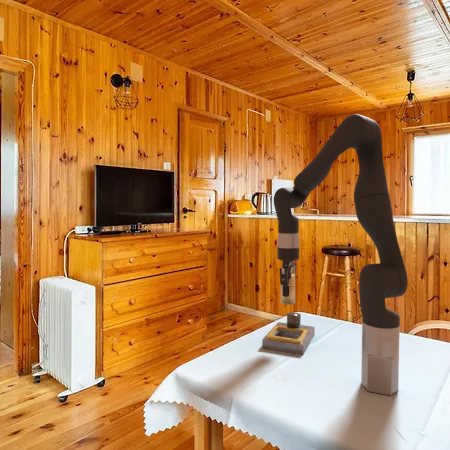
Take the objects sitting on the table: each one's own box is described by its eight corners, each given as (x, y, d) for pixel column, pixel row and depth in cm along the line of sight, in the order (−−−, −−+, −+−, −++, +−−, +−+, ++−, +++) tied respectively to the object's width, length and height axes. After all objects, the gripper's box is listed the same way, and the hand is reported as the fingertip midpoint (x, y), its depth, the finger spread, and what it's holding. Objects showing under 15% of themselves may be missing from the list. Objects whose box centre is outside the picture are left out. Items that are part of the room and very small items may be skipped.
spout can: (293, 305, 124) (293, 270, 123) (279, 303, 126) (279, 269, 126) (296, 301, 129) (296, 267, 128) (282, 300, 131) (282, 266, 130)
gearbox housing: (303, 354, 119) (303, 330, 119) (262, 348, 125) (262, 325, 124) (314, 334, 137) (314, 313, 137) (278, 329, 143) (278, 309, 143)
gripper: (294, 248, 118) (293, 300, 119) (303, 244, 131) (303, 291, 132) (271, 247, 121) (271, 298, 122) (283, 243, 134) (282, 289, 135)
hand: (288, 294), depth 127 cm, fingers closed on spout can, 5 cm apart
